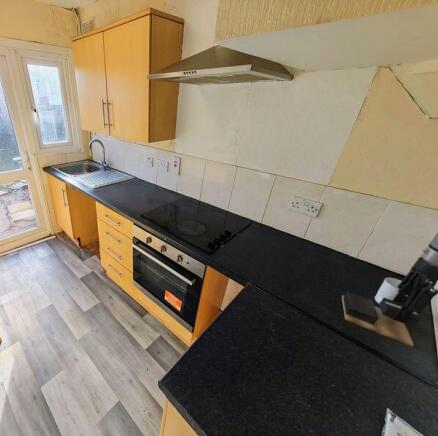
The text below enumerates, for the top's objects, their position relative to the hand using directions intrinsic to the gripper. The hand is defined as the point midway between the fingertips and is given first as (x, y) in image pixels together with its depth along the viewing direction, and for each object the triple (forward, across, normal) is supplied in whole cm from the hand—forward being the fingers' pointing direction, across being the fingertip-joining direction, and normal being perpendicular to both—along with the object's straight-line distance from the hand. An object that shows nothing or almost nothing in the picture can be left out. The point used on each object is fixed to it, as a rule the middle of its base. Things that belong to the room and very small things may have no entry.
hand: (395, 314), depth 81 cm
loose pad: (0, 0, 0) cm, 0 cm away
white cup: (+6, -14, +2) cm, 15 cm away
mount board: (+5, 0, -4) cm, 7 cm away
